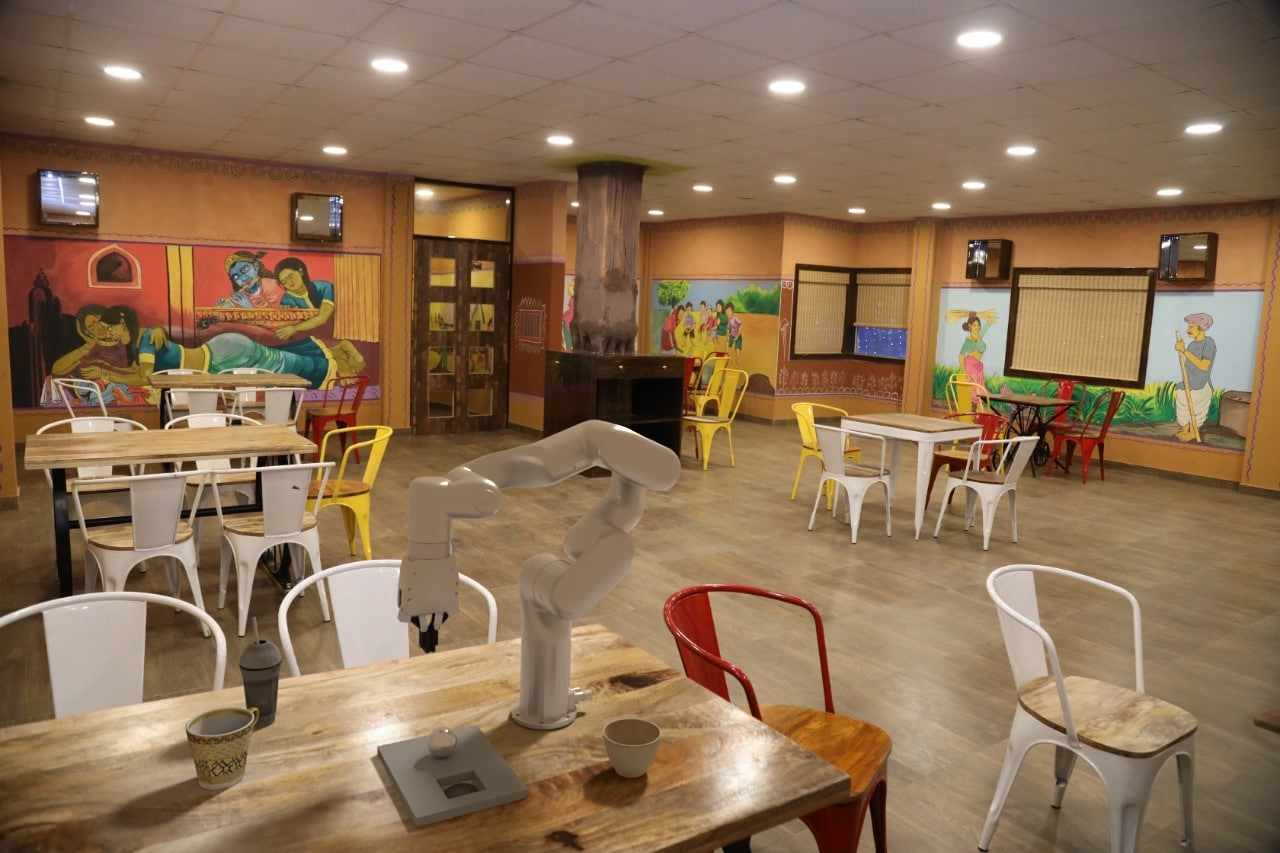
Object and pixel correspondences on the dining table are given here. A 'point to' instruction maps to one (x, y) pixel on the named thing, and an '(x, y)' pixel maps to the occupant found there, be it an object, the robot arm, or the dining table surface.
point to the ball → (442, 742)
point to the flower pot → (631, 745)
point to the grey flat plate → (450, 777)
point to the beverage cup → (261, 678)
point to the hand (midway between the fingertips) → (428, 650)
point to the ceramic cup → (221, 745)
